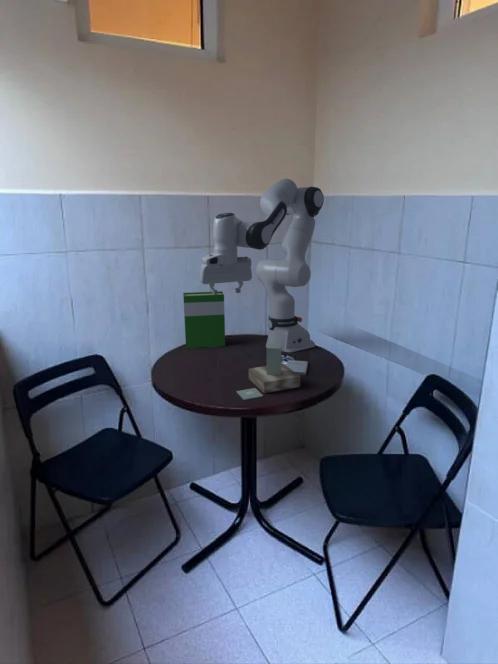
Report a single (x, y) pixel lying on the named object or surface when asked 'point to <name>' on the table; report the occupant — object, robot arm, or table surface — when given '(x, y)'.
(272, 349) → the sage block
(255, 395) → the tile
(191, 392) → the table surface
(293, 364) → the external hard drive
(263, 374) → the birch base block
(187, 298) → the hardback book
